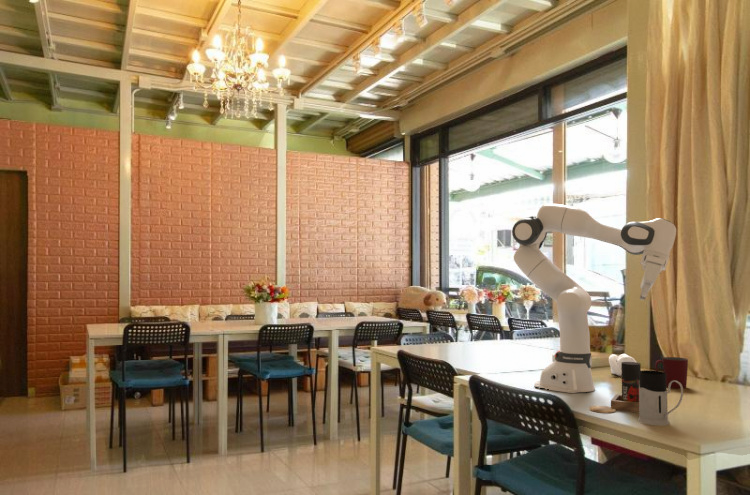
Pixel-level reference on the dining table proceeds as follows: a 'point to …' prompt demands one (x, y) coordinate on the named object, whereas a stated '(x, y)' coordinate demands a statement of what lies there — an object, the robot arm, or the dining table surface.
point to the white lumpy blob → (619, 363)
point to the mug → (675, 370)
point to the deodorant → (630, 381)
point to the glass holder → (654, 397)
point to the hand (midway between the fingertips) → (642, 298)
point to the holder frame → (624, 404)
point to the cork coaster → (602, 409)
